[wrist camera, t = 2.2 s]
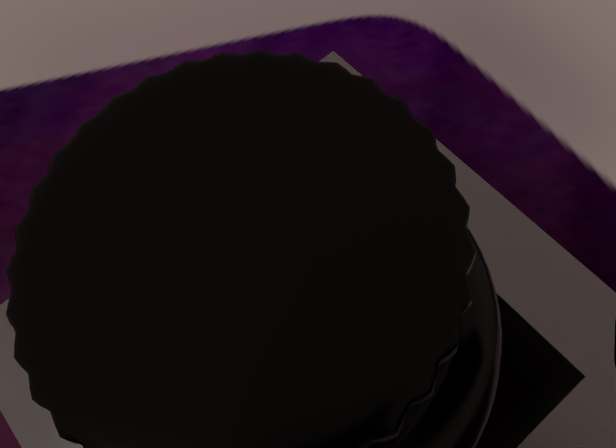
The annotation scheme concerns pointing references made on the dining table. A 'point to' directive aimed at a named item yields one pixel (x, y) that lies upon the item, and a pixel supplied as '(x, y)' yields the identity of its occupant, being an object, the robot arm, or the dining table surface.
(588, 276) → the housing
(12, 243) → the dining table surface
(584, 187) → the dining table surface
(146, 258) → the supplement bottle
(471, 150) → the dining table surface
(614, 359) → the robot arm
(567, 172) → the dining table surface
